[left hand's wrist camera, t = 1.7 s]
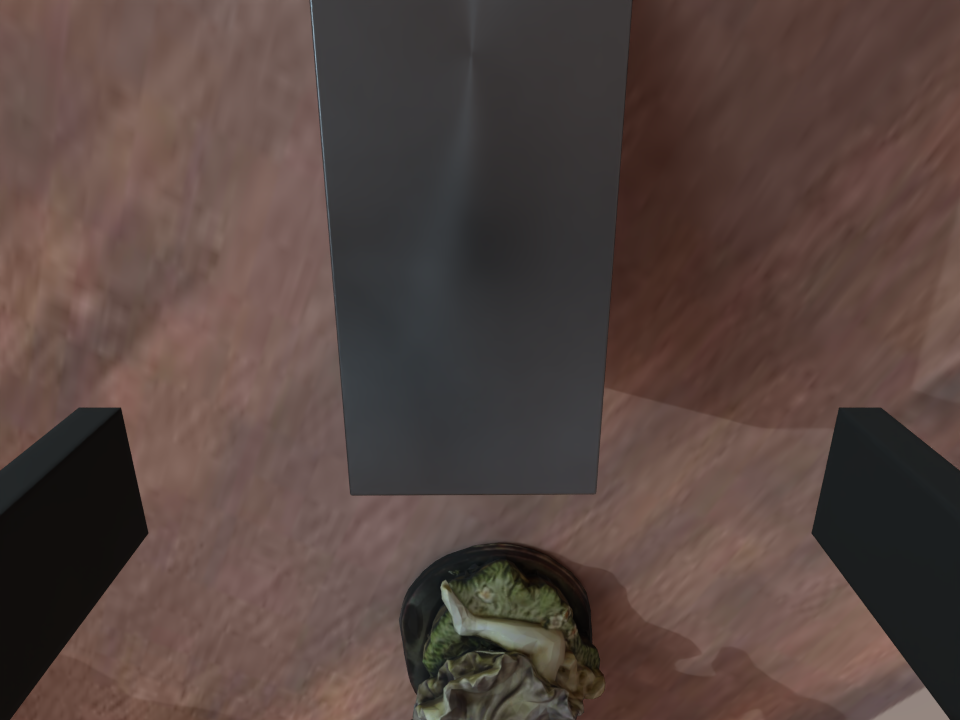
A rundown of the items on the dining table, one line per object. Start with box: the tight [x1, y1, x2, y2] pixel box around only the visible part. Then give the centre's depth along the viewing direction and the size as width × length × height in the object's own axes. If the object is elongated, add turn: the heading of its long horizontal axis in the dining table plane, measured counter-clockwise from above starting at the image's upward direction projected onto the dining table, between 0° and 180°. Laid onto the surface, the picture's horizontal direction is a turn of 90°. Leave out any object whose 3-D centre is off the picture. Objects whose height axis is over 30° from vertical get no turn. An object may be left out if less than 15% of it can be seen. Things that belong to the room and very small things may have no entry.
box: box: [310, 0, 632, 495], centre depth 20 cm, size 21×6×13 cm, turn 0°
